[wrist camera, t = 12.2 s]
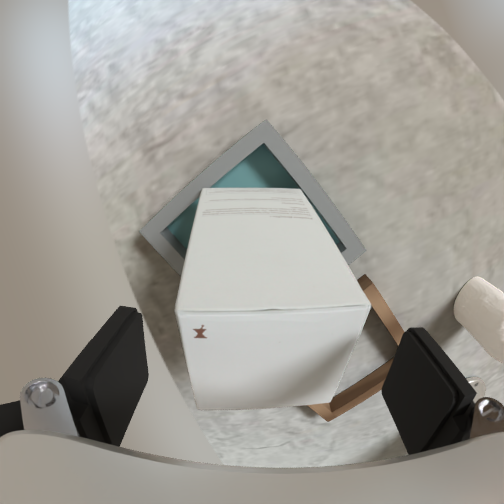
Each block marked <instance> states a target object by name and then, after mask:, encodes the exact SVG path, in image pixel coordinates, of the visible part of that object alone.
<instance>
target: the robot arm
mask: <svg viewBox="0 0 504 504" xmlns="http://www.w3.org/2000/svg"><path fill="white" fill-rule="evenodd" d="M147 381H148V366H147V359H146V351H145V341H144V332H143V320H142V314H141V313H138V312H137V309H136V308H131V307H125V306H120V307H119V308H118V309H117V310H116V311H115V312H114V314H113V315H112V316H111V317H110V318H109V319H108V320H107V322H106V323H105V324H104V325H103V326H102V328H101V329H100V330H99V331H98V333H97V334H96V335H95V336H94V337H93V339H91V340H90V342H89V343H88V344H87V345H86V347H85V348H84V349H83V350H82V352H81V353H80V354H79V355H78V357H77V358H76V359H75V361H74V362H73V363H72V364H71V365H70V367H69V368H68V369H67V371H66V372H65V373H64V374H63V376H62V377H61V378H60V380H59V381H56V380H53V379H51V378H38V379H34V380H32V381H30V382H28V383H27V384H26V385H25V386H24V387H23V388H22V391H21V393H20V401H16V402H11V403H7V404H3V405H0V504H504V406H503V405H502V404H501V403H500V402H499V401H497V400H495V399H493V398H489V397H484V395H485V391H486V385H485V383H484V382H483V380H482V379H481V378H479V377H470V378H465V377H464V376H463V374H462V373H461V372H460V371H459V369H458V368H457V367H456V366H455V364H454V363H453V362H452V361H451V359H450V358H449V357H448V356H447V355H446V353H445V352H444V351H443V350H442V349H441V347H440V346H439V345H438V344H437V343H436V341H435V340H434V339H433V338H432V337H431V336H430V334H429V333H428V332H427V331H426V330H425V329H424V328H409V329H408V330H407V331H406V332H404V333H403V335H402V338H401V341H400V343H399V346H398V349H397V351H396V354H395V357H394V359H393V362H392V364H391V367H390V369H389V372H388V374H387V377H386V379H385V381H384V384H383V386H382V396H383V398H384V400H385V402H386V404H387V406H388V409H389V411H390V413H391V415H392V418H393V420H394V422H395V424H396V426H397V429H398V431H399V433H400V436H401V438H402V440H403V443H404V445H405V447H406V450H407V452H408V454H409V455H406V456H401V457H396V458H391V459H385V460H379V461H372V462H365V463H357V464H348V465H338V466H325V467H305V468H262V467H241V466H228V465H218V464H208V463H200V462H193V461H186V460H180V459H174V458H169V457H164V456H158V455H153V454H148V453H143V452H139V451H134V450H130V449H126V448H122V447H120V444H121V442H122V439H123V437H124V435H125V432H126V430H127V427H128V425H129V423H130V420H131V418H132V416H133V413H134V411H135V409H136V406H137V404H138V402H139V400H140V397H141V395H142V393H143V390H144V388H145V386H146V384H147Z"/></svg>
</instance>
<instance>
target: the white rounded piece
mask: <svg viewBox="0 0 504 504" xmlns="http://www.w3.org/2000/svg"><path fill="white" fill-rule="evenodd" d="M454 316H455V318H456V320H457V321H458V322H459V323H460V324H461V325H462V326H463V327H464V328H465V329H466V330H467V331H468V332H469V333H470V334H471V335H472V336H473V337H474V338H475V339H476V341H477V342H478V343H479V344H480V345H481V346H482V347H483V348H484V350H485V351H486V352H487V353H488V354H489V355H490V356H491V357H493V358H494V359H496V360H498V361H499V362H501V363H504V293H503V292H502V291H501V290H499V289H498V288H496V287H495V286H493V285H492V284H490V283H489V282H487V281H486V280H484V279H483V278H481V277H474V278H472V279H470V280H469V281H468V282H467V283H466V284H465V285H464V286H463V288H462V289H461V291H460V292H459V294H458V296H457V298H456V300H455V303H454Z"/></svg>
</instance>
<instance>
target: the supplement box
mask: <svg viewBox="0 0 504 504" xmlns="http://www.w3.org/2000/svg"><path fill="white" fill-rule="evenodd" d="M370 309H371V303H370V301H369V300H368V298H367V297H366V295H365V293H364V292H363V290H362V289H361V287H360V285H359V283H358V282H357V280H356V278H355V276H354V275H353V273H352V271H351V270H350V268H349V266H348V264H347V263H346V261H345V259H344V258H343V256H342V254H341V253H340V251H339V249H338V248H337V246H336V244H335V242H334V241H333V239H332V237H331V236H330V234H329V232H328V231H327V229H326V228H325V226H324V224H323V223H322V221H321V220H320V218H319V216H318V215H317V213H316V212H315V210H314V208H313V207H312V205H311V204H310V203H309V201H308V200H307V198H306V196H305V195H304V193H303V192H302V190H301V189H290V188H202V190H201V194H200V198H199V202H198V206H197V210H196V214H195V218H194V222H193V226H192V230H191V235H190V239H189V243H188V248H187V252H186V257H185V261H184V266H183V270H182V275H181V280H180V285H179V289H178V294H177V299H176V304H175V310H174V311H175V316H176V320H177V325H178V330H179V334H180V339H181V343H182V348H183V352H184V356H185V361H186V365H187V369H188V373H189V377H190V381H191V386H192V390H193V394H194V398H195V402H196V406H197V409H198V410H244V409H266V408H280V407H292V406H303V405H313V404H322V403H329V402H331V400H332V398H333V396H334V394H335V392H336V390H337V387H338V385H339V383H340V381H341V378H342V376H343V374H344V372H345V369H346V367H347V364H348V362H349V359H350V357H351V355H352V352H353V350H354V348H355V346H356V343H357V341H358V339H359V336H360V334H361V331H362V329H363V327H364V324H365V321H366V319H367V316H368V314H369V311H370Z"/></svg>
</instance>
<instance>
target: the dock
mask: <svg viewBox="0 0 504 504" xmlns="http://www.w3.org/2000/svg"><path fill="white" fill-rule="evenodd" d="M202 188H290V189H301V190H302V192H303V193H304V195H305V196H306V198H307V200H308V201H309V203H310V204H311V205H312V207H313V208H314V210H315V212H316V213H317V215H318V216H319V218H320V220H321V221H322V223H323V224H324V226H325V228H326V229H327V231H328V232H329V234H330V236H331V237H332V239H333V241H334V242H335V244H336V246H337V248H338V249H339V251H340V253H341V254H342V256H343V258H344V259H345V261H346V263H347V264H348V265H349V264H351V263H352V262H353V261H354V260H356V259H357V258H358V257H359V256H361V255H362V254H363V253H364V252H366V251H367V250H366V249H365V247H364V246H363V244H362V243H361V241H360V240H359V238H358V237H357V236H356V234H355V233H354V231H353V230H352V228H351V227H350V226H349V224H348V223H347V221H346V220H345V218H344V217H343V216H342V214H341V213H340V211H339V210H338V209H337V207H336V206H335V205H334V203H333V202H332V200H331V199H330V198H329V196H328V195H327V194H326V192H325V191H324V190H323V188H322V187H321V186H320V184H319V183H318V182H317V181H316V179H315V178H314V177H313V175H312V174H311V173H310V172H309V170H308V169H307V168H306V166H305V165H304V164H303V163H302V161H301V160H300V159H299V158H298V156H297V155H296V154H295V153H294V151H293V150H292V149H291V148H290V147H289V145H288V144H287V143H286V142H285V141H284V139H283V138H282V137H281V136H280V135H279V133H278V132H277V131H276V130H275V129H274V128H273V126H272V125H271V124H270V123H269V122H268V121H267V119H266V120H264V121H263V122H262V123H260V124H259V125H258V126H257V127H255V128H254V129H253V130H252V131H250V132H249V133H248V134H247V135H245V136H244V137H243V138H242V139H240V140H239V141H238V142H237V143H236V144H234V145H233V146H232V147H231V148H230V149H228V150H227V151H226V152H225V153H224V154H222V155H221V156H220V157H219V158H218V159H217V160H215V161H214V162H213V163H212V164H211V165H210V166H208V167H207V168H206V169H205V170H204V171H203V172H202V173H200V174H199V175H198V176H197V177H196V178H195V179H194V180H193V181H192V182H190V183H189V184H188V185H187V186H186V187H185V188H184V189H183V190H182V191H181V192H179V193H178V194H177V195H176V196H175V197H174V198H173V199H172V200H171V201H170V202H169V203H168V204H167V205H166V206H165V207H163V208H162V209H161V210H160V211H159V212H158V213H157V214H156V215H155V216H154V217H153V218H152V219H151V220H150V221H149V222H148V223H147V224H146V225H145V226H144V227H143V228H142V229H141V230H140V231H139V232H140V233H141V234H142V235H143V236H144V237H145V239H146V240H147V241H148V242H149V243H150V244H151V245H152V246H153V247H154V249H155V250H156V251H157V252H158V253H159V254H160V255H161V256H162V257H163V258H164V259H165V260H166V262H167V263H168V264H169V265H170V266H171V267H172V268H173V269H174V270H175V271H176V272H177V273H178V274H179V275H180V276H181V275H182V270H183V266H184V261H185V257H186V252H187V248H188V243H189V239H190V235H191V230H192V226H193V222H194V218H195V214H196V210H197V206H198V202H199V198H200V194H201V190H202Z"/></svg>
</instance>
